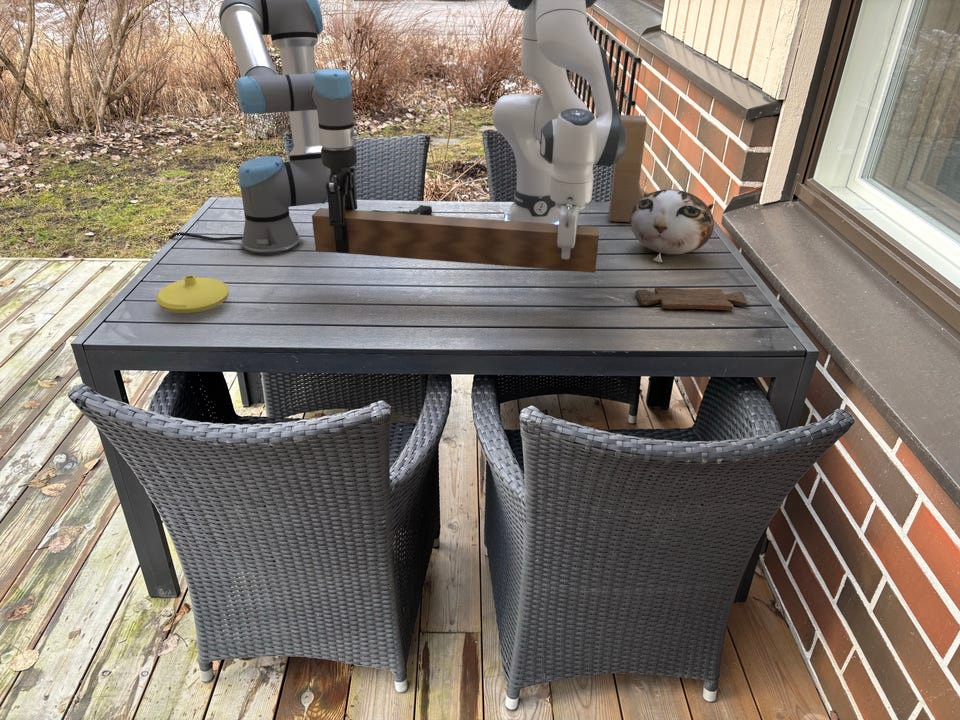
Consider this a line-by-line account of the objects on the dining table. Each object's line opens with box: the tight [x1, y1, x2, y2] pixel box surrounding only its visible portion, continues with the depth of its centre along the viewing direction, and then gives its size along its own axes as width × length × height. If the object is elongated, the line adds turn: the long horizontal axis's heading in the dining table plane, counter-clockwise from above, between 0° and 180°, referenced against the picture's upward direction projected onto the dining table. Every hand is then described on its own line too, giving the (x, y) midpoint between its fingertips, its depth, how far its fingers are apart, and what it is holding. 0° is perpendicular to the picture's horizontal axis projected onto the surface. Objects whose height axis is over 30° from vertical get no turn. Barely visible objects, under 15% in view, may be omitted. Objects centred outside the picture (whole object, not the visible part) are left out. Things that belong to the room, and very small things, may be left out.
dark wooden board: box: [635, 287, 748, 311], centre depth 169 cm, size 26×2×10 cm
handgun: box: [371, 204, 433, 216], centre depth 216 cm, size 16×3×15 cm
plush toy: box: [629, 188, 715, 263], centre depth 192 cm, size 22×18×20 cm
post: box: [311, 207, 601, 274], centre depth 161 cm, size 64×5×9 cm, turn 81°
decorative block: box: [608, 114, 651, 223], centre depth 211 cm, size 8×15×30 cm, turn 82°
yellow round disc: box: [155, 274, 230, 315], centre depth 163 cm, size 16×16×7 cm
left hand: (346, 247), depth 167 cm, fingers closed on post, 5 cm apart
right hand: (566, 252), depth 158 cm, fingers closed on post, 5 cm apart
